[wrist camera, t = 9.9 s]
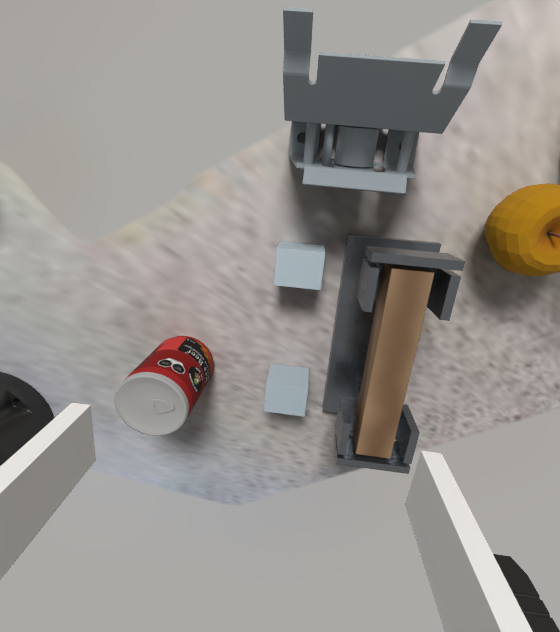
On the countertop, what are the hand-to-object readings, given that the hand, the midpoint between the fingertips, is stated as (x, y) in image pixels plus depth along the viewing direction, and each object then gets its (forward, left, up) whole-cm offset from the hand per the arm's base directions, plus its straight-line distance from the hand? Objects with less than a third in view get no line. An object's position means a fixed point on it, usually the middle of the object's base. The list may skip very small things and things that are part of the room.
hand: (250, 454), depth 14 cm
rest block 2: (+1, -14, -30) cm, 33 cm away
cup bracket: (+11, -6, -30) cm, 32 cm away
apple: (+23, +8, -30) cm, 39 cm away
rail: (+11, -6, -23) cm, 26 cm away
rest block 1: (+1, +2, -30) cm, 30 cm away
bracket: (+5, +15, -30) cm, 34 cm away
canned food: (-13, -13, -30) cm, 35 cm away
